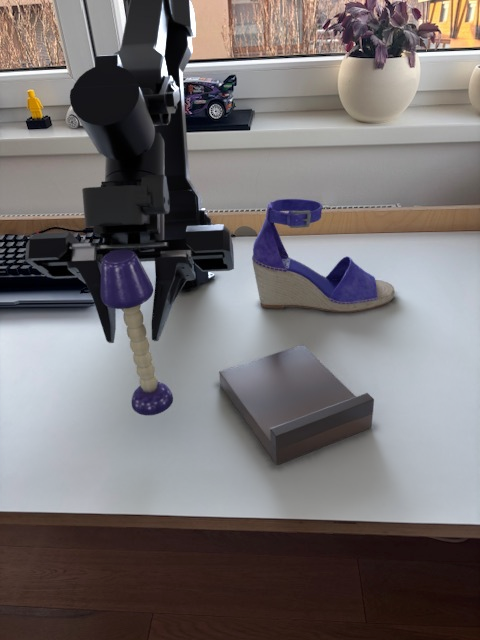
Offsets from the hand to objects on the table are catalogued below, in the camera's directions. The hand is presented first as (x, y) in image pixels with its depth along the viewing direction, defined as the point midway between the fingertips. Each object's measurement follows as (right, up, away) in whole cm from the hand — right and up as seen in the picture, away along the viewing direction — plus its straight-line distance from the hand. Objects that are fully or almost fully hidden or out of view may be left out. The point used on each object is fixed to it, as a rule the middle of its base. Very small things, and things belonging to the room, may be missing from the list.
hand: (132, 341), depth 50 cm
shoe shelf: (+15, -7, +10) cm, 20 cm away
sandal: (+22, +5, +29) cm, 36 cm away
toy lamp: (+1, -7, +6) cm, 9 cm away
